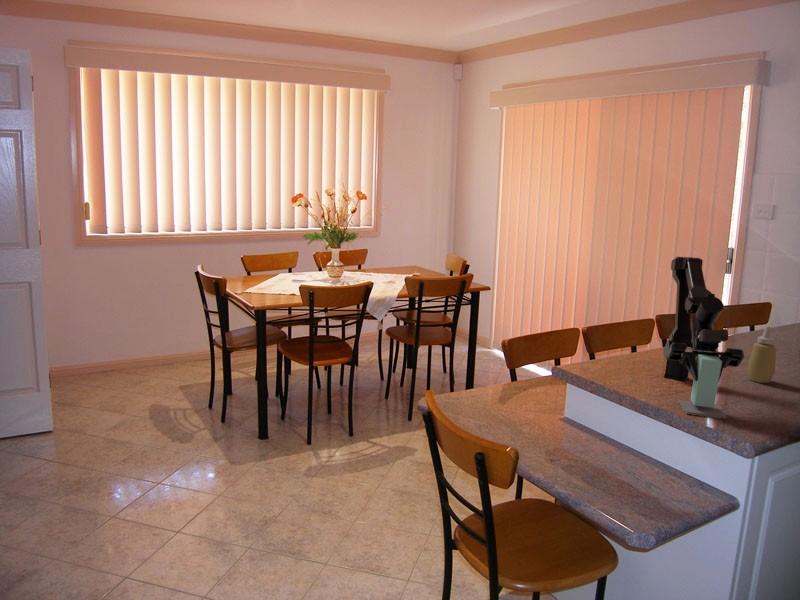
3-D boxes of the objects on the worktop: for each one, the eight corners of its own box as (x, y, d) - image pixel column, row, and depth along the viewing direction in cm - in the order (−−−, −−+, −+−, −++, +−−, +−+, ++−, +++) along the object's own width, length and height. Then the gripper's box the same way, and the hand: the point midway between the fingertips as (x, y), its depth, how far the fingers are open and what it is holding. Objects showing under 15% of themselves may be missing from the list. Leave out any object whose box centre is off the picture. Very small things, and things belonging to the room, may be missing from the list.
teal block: (690, 399, 186) (697, 354, 184) (709, 401, 185) (717, 356, 183) (694, 405, 181) (702, 359, 179) (714, 407, 180) (721, 361, 178)
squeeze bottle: (770, 379, 220) (779, 326, 217) (775, 386, 212) (784, 331, 209) (743, 375, 223) (752, 323, 219) (747, 382, 215) (756, 327, 212)
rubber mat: (678, 402, 189) (678, 400, 189) (715, 407, 188) (716, 404, 187) (686, 414, 180) (686, 411, 179) (726, 419, 178) (726, 416, 178)
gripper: (675, 313, 184) (678, 362, 176) (747, 320, 181) (754, 370, 173) (665, 335, 194) (668, 382, 185) (734, 341, 190) (740, 390, 182)
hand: (707, 381), depth 181 cm, fingers closed on teal block, 5 cm apart
